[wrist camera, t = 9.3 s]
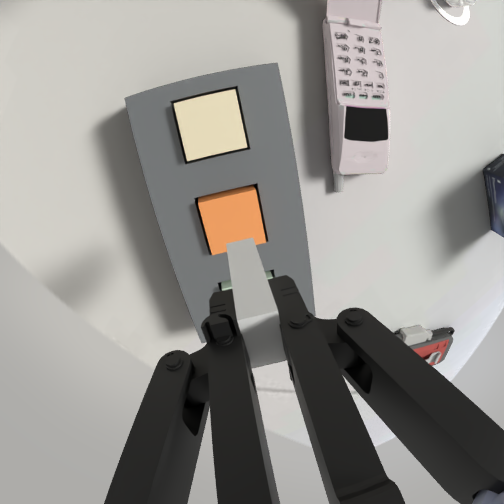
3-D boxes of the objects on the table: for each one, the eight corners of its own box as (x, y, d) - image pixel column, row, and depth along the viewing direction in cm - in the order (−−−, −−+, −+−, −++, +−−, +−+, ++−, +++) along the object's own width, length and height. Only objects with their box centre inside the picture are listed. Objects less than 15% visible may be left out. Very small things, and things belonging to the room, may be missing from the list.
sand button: (179, 106, 24) (173, 103, 20) (230, 94, 24) (235, 89, 20) (190, 154, 26) (187, 161, 22) (241, 142, 26) (247, 147, 22)
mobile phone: (387, -48, 14) (407, 203, 24) (361, -28, 19) (377, 187, 30) (326, -63, 13) (349, 207, 24) (307, -37, 19) (325, 190, 29)
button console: (136, 100, 23) (124, 97, 19) (267, 70, 23) (277, 62, 20) (201, 319, 34) (201, 343, 30) (304, 295, 34) (315, 316, 30)
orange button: (199, 189, 27) (197, 203, 23) (248, 178, 27) (255, 189, 23) (211, 235, 29) (212, 255, 25) (257, 224, 29) (266, 242, 25)
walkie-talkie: (453, 313, 41) (352, 335, 39) (468, 328, 37) (365, 356, 35) (437, 352, 45) (340, 377, 42) (449, 368, 41) (350, 398, 38)
